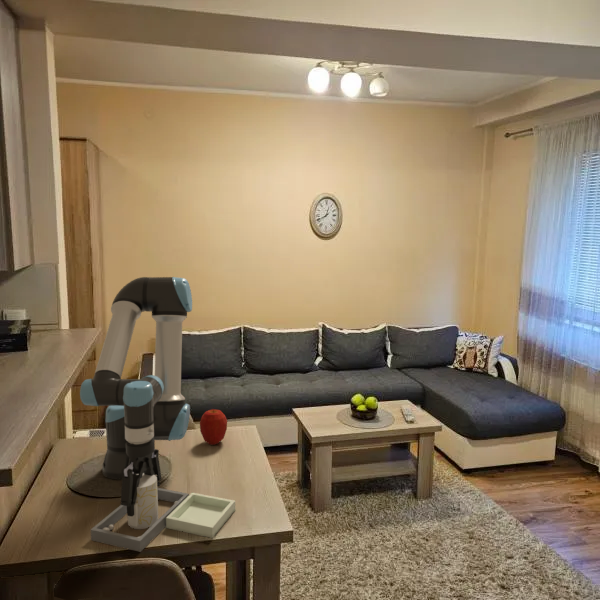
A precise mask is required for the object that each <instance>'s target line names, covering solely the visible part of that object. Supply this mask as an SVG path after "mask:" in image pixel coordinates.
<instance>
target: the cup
mask: <svg viewBox="0 0 600 600" xmlns="http://www.w3.org/2000/svg"><path fill="white" fill-rule="evenodd" d="M136 475H138V474H136ZM156 476H157V475H152V476H151V475H145V474H144V473H143V475H142V478H140V482H139V487H137V497H136V503H138V526H137V527H136V526H131V525H128V527H129V526H130V527H129V528H131V529H133V528H134V529H133V530H145V529H149V528H150V527H151V526H152V525H153V524H154V523H155V522H156V521H157V520H158V519H159V501H158V500H159V499H158V493H157V488H158V486H157V477H156ZM148 527H149V528H148Z"/></svg>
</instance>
